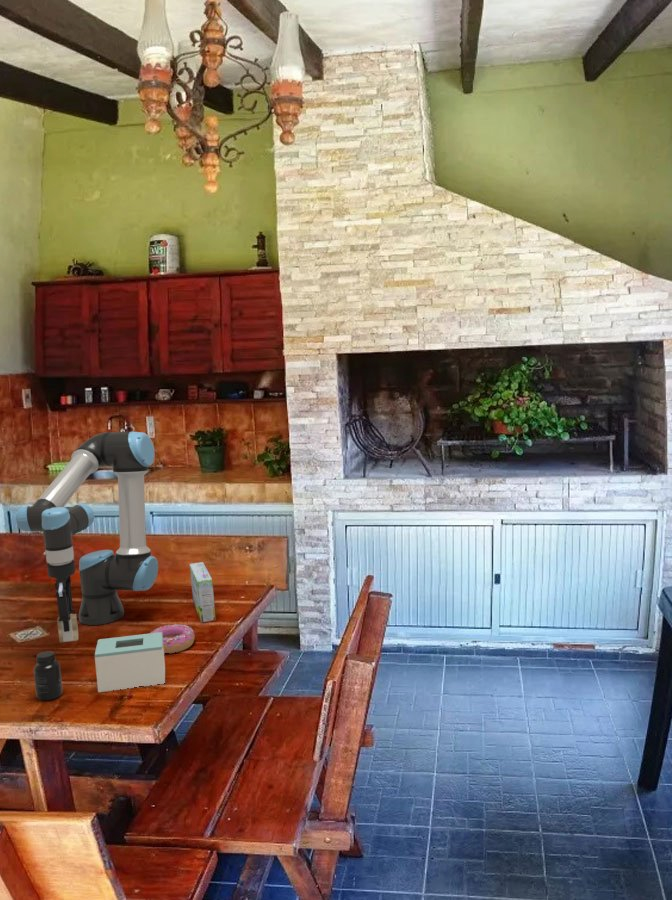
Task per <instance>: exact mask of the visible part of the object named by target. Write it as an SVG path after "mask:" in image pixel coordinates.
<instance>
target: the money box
mask: <svg viewBox="0 0 672 900" xmlns="http://www.w3.org/2000/svg"><path fill="white" fill-rule="evenodd" d="M96 643H97V644H96V647H95V652H94V662H95V664H94V665H95V674H96V683H97V684H96V685H97V692H98V693H103V692H112V691H113V690H114V691H120V689H121V690H128V689H127V688H129V689H134V687H137V688H140V687H139V686H144V687H151V686H150V685H152V686H158V685H157V684H160V685H165V684H166V663H165V662H166V660H165V654H164V647H163V635H162V632H158V633H151V632H150V633H143V634H134V635H133V634H132V635H125V636H119V637H118V636H117V637H109V638H100V639H98V640H97V642H96ZM164 683H165V684H164Z"/></svg>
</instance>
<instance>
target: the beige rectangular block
mask: <svg viewBox="0 0 672 900" xmlns="http://www.w3.org/2000/svg"><path fill="white" fill-rule="evenodd" d="M71 614H72V615H70V618H71V622H72V631H73V639H74V640H73V641H72V642H75V641H78V640H79V636H80V634H79V628H78V619H77V618H78V616H77V613H75V614H74V613H71ZM58 619H60V618H59V615H58V617H57V619H56V620H57V621H56V622H57V631H58V640H59V643H64V642H63V633H62V624H61V621H59V622H58ZM66 642H68V643H69V642H70V641H66ZM66 642H65V643H66Z"/></svg>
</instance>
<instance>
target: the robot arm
mask: <svg viewBox="0 0 672 900" xmlns="http://www.w3.org/2000/svg"><path fill="white" fill-rule="evenodd" d="M155 454H156V453H155V447H154V443H153V441H152V439H151V438H150V436H149V435H148V434H147V433H145V432H143V431H141V432H139V431H117V432H116V431H113V432H112V431H111V432H110V431H109V432H108V431H104V432H101V433H97V434H96V435H93V436H91V437H90V438H88V439H86V440H85V441H84V442H82V443H81V444H80V445H79V446H77V448H76V449H75V450H74V451H73V452H72V454H71V456H70V461H69V462H68V463H67V464H66V465H65V466H64V468H63V469H62V470H61V471H60V472H59V474H58V475H57V476H56V477H55V478H54V480H52V482H51V483H50V485H48V487H46V489H45V490H44V492H43V493H42V494H41V495H40V496H39V497H38V498H37V500H36V501H35V502H34V503H33V505H31V506H30V505H26V506H22V507H19V509H18V511H17V512H16V516H15V522H16V523H15V524H16V525H17V528H18V529H19V530H20V531H24V532H31V533H35V532H36V533H37V532H40V533H41V532H42V533H43V534H42V535H43V541H44V549H45V551H43V553H42V554H43V555H44V556H45V558H46V559H45V560H46V563H47V564H46V567H47V575H48V577H49V578H50V579H56V580H55V583H54V588H55V592H54V593H55V597H56V602H57V609H58V616H59V618H60V619H58V618H57V619H58V622H59V621H61V624H62V633H63V642H62V643H66V641H69V642H74V641H73V640H74V639H73V631H72V622H71V618H70V615H72V614H74V613H75V614H76V609H74V603H73V595H72V594H73V593H72V585H71V584H72V579H71V576H73V575H74V574H75V573H76V563H75V560H74V559H75V554H74V553H75V552H74V545H73V536H74V535H77V533H80V532H82V531H84V530H87V528H89V527H91V526H92V525H93V523H94V521H95V512H94V510H93V508H92V507H91V506H90V505H88V504H85V503H78V504H75V505H73V506H66V505H67V503H68V502H69V501H70V500H71V498H72V497H73V496H74V494H76V492H77V491H78V490H79V489H80V487H81V486H82V485H83V483H84V482H85V481H86V479H87V478H88V477H89V476H90V475H91V474H94V473H95V472H97V471H98V469H100V468H103V467H112V473H113V474H114V475H115V476H116V477H117V486H118V487H117V491H118V492H117V494H118V517H119V521H118V522H119V525H118V526H119V548H118V549H117V550H116V551H115V552H114V550H111V549H101V550H96V551H93V552H89V553H86V554H85V555H83V556H82V557H80V559H79V562H78V571H79V578H80V588H81V597H82V599H81V603H80V606H79V611H78V621H79V622H80V623H81V624H82V625H83V624H84V625H88V626H97V625H107V624H110V623H114V622H115V621H119V620H120V619H122V618H123V617H124V616H125V608H124V606H123V604H122V601H121V599H120V597H119V595H118V591H132V592H133V591H134V592H139V591H141V592H142V591H148V590H150V589H151V588H152V587H153V585H154V584H155V582H156V580H157V576H158V571H159V562H158V559H157V558H156V557H155V556H153V555H152V551H151V549H150V548H149V547H148V546H147V533H146V532H147V531H146V503H145V502H146V501H145V498H146V497H145V475H146V474H147V473H149V467H150V466H152V465H153V464H154V461H155Z"/></svg>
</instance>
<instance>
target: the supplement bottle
mask: <svg viewBox="0 0 672 900" xmlns="http://www.w3.org/2000/svg"><path fill="white" fill-rule="evenodd" d="M35 658H36V665H34V668H33V676H34V685H35V696H36V699H38V700H39V701H41V702H42V701H43V702H44V701H54V700H56V699H57V698H59V697H60V696H62V694H63V691H64V690H63V681H62V673H61V672H62V671H61V670H62V669H61V664H60V663H59V661H57V660H56V653H55V652H54V651H52V650H46V651H42V652H39V653H38V654H37V655H36V657H35Z"/></svg>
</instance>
